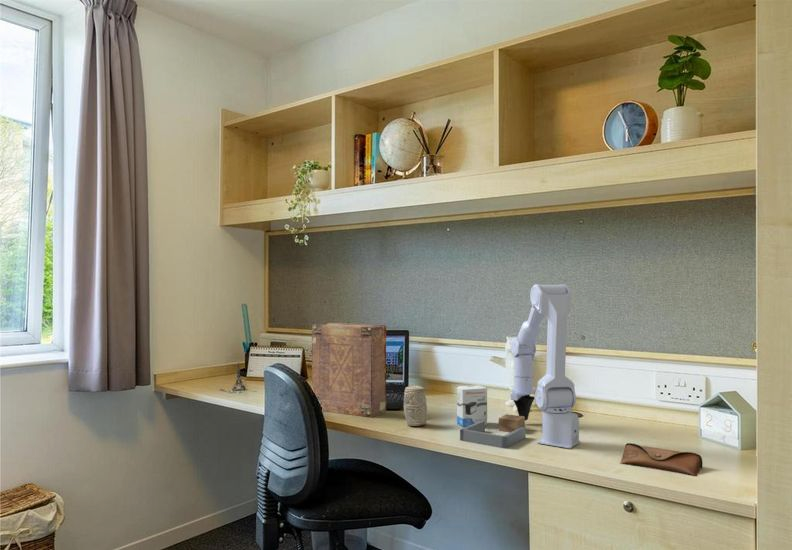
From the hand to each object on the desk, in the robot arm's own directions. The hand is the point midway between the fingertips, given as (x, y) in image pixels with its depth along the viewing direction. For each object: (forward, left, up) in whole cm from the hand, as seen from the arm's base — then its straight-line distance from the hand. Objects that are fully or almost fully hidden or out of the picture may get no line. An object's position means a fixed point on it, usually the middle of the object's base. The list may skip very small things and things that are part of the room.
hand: (523, 419), depth 185 cm
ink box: (+13, +10, -2) cm, 16 cm away
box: (0, +21, -1) cm, 21 cm away
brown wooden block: (0, +9, -2) cm, 9 cm away
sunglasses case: (-44, +19, -2) cm, 48 cm away
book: (+58, +17, -2) cm, 60 cm away
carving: (+27, +21, -2) cm, 34 cm away
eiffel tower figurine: (+121, +14, -2) cm, 122 cm away
